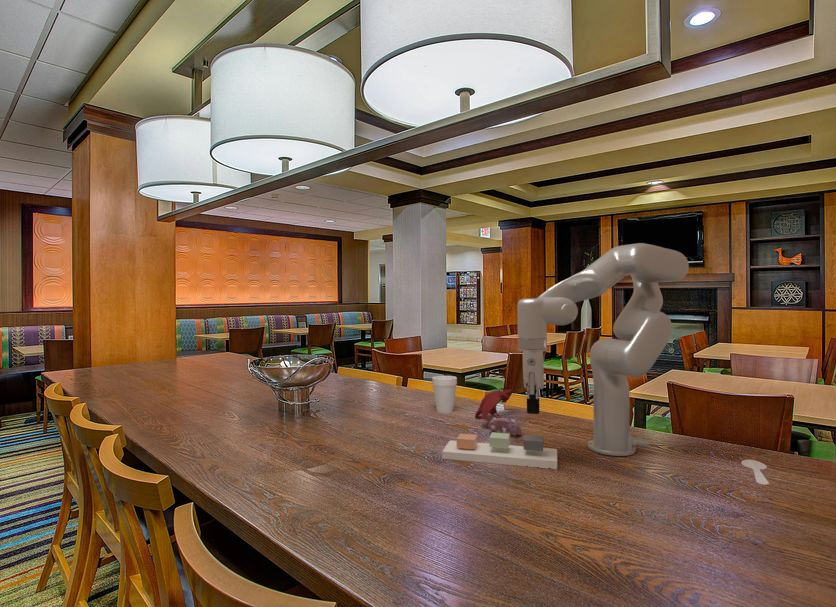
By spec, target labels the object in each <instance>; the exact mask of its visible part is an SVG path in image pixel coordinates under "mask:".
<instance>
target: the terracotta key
mask: <svg viewBox="0 0 836 607" xmlns="http://www.w3.org/2000/svg"><path fill="white" fill-rule="evenodd" d="M478 440H479V438H478V434H474V433H473V434H471V433H459V435H458V436H457V437H456V441H457V448H465V449H475V448H476V446H477V444H478V443H479V442H478Z"/></svg>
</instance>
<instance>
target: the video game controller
mask: <svg viewBox="0 0 836 607" xmlns="http://www.w3.org/2000/svg"><path fill="white" fill-rule="evenodd" d="M488 428H489V429H490V431H491V433H492V432H494V433H507V434H510V437H512V436H513V434H515V435H517V436H521V435H522V428H521V427H520V425H519V424H518V422H517V421H515V420H514V419H510V418H507V417H501V418H500V417H497V418H496V417H493V418H492V419H490V421H489V422H488ZM504 429H505V431H504Z"/></svg>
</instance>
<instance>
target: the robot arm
mask: <svg viewBox="0 0 836 607" xmlns="http://www.w3.org/2000/svg"><path fill="white" fill-rule="evenodd" d="M689 266H690V265H689V261H688V258H687V257H686V256H685V255H684V254H683V253H682V252H680V251H677V250H675V249H671V248H666V247H662V246H658V245H654V244H649V243H645V242H641V243H640V242H638V243H630V244H624V245H623V244H622V245H618V246H615V247H613V248H610V249H609V250H608V251H607V252H605V253H604V254H603V255H601V256H600V257H599V258H598V259H596V260H595V261H594V262H592V263H591V264H589V265H588V266H587V267H585V269H583V270H582V271H580V272H579V271H578V272H577V273H576V274H573V275H572V276H569V277H568V278H566V279H564V280H561V281H560V282H557V283H556V284H554V285H553V286H552V285H551V287H549V288H548V289H546V290H545V291H544V292H543V293H542V294H540V295H539V296H538V297H536V298H521V299H519V300H518V302H517V305H516V307H517V312H516V313H517V350H518V351H520V352H522V374H523V376H522V377H523V387H524V388H525V389H526V391H527V394H526V396H527V397H526V413H527V414H530V415H531V414H532V415H539V414H540V397H539V389H540V390H543V389H544V385H545V381H544V379H545V378H544V377H545V374H544V373H545V372H544V371H545V369H544V368H545V367H544V366H545V365H544V352H547V351H548V345H547V344H548V340H547V335H548V334H547V333H548V329H547V325H555V326H566V325H570V324H572V323H573V322H574V321H575V320H576V318H577V316H578V313H579V308H578V306H577V304H576V303H578V302H582V301H587V300H591V299H593V298H596V297H597V298H598V297H600V296H602V295H603V294H606V292H607V291H609V290H610V289H611V288H612V287H614V286H615V285H616V284H617V283H618V282H620V281H621V280H623V279H624V278H625V277H627V276H629V275H630V276H631V280H632V284H633V292H632V295H631V297H630V299H629V300H628V302H627V303H626V305H625V306H624V307H623V309H622V310H621V312H620V314H619V316H618V315H617V316H618V317H617V318H616V320H615V321H614V323H613V327H612V329H613V330H612V331H613V334H614V335H615V337H616V338H602V339H598V340H597V341H596V342H594V343H593V345H591V348H590V350H589V363H590V366H591V371H592V379H593V380H592V382H593V439H590V440H589V441H588V442H587V447H588V449H589V450H590V451H592V452H595V453H598V454H602V455H605V456H614V457H625V456H627V457H629V456H632V455H634V454H635V453H636V449H637V448H636V447H638V446H640V447H649V440H648V439H643V438H642V437H639V436H638V437H633V435H632V434H631V433H630V424H631V423H630V422H631V420H630V397H631V396H630V384H629V381H628V378H627V377H632V378H638V377H643V376H644V375H646V374H648V372H649V371H650V370H651V369H652V367H653V366H654V364H656V362H657V360H658V358H659V356H660V355H661V354H662V352H663V351H664V350H665V347H666V346H667V344H668V342H669V340H670V338H671V336H672V330H673V326H672V325H673V324H672V321H671V319H670V317H669V316H668V315H667V314H666V313H665V312H662V311H661V309H662V307H663V304H664V298H663V295H662V292H661V289H660V285H659V283H673V282H678V281H682V279H684V277H686V276H687V274H688V272H689V270H690V269H689V268H690V267H689Z"/></svg>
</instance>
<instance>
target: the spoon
mask: <svg viewBox="0 0 836 607" xmlns="http://www.w3.org/2000/svg"><path fill="white" fill-rule="evenodd" d="M740 463H741V465H742V466H743V467H746V468H749V469H752V471H753V475H754V478H755V482H756V483H757V484H759V485H764V486H768V485H770V483H769V481H768V480H767V478H766V477H765V476H764V474H763V473H762V472H761V470H766V469H767V468H768V467H767V465H766V464H765V463H762V462H761V461H758V460H755V459H744V460H742V461H741V462H740Z"/></svg>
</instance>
